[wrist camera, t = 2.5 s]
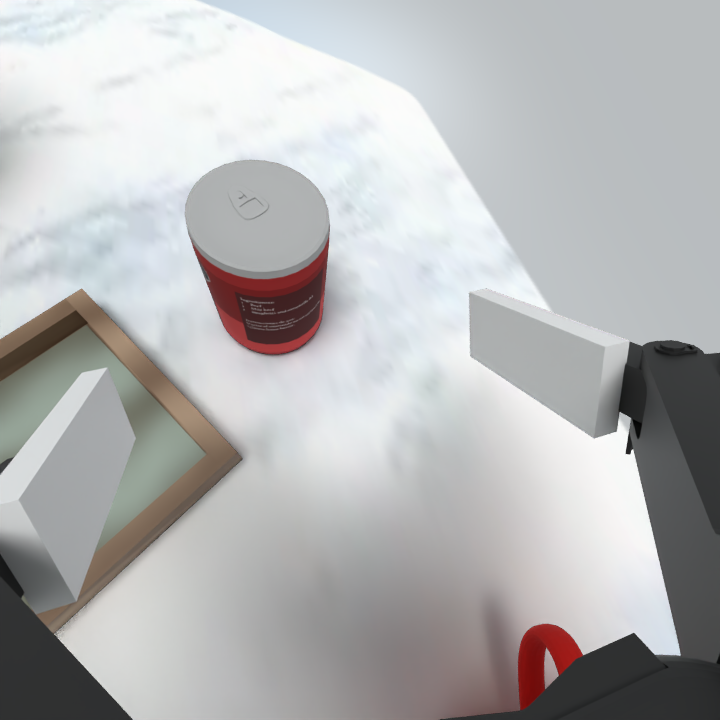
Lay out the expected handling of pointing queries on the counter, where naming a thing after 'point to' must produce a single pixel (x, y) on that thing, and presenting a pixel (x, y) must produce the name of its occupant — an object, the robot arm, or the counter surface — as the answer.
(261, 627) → the counter surface
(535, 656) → the ceramic cup
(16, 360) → the tray
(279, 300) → the canned food
